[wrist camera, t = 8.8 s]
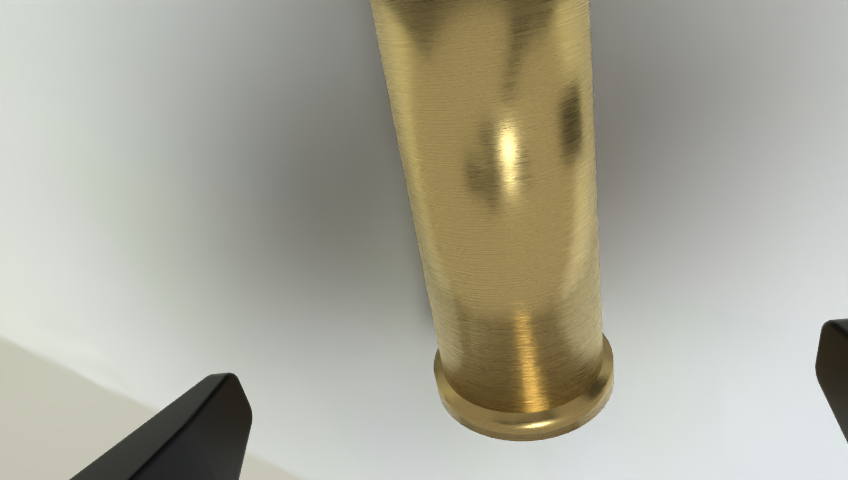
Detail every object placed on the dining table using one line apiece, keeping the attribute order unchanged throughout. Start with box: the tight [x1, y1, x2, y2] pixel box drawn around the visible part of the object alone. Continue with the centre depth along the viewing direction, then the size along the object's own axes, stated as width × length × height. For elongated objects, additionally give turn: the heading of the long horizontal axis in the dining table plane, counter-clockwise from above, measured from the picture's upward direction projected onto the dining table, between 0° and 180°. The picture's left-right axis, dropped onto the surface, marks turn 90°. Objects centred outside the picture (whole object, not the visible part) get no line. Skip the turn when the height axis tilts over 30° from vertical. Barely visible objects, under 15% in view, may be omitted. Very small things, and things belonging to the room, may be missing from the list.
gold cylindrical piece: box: [370, 0, 614, 441], centre depth 16 cm, size 14×6×6 cm, turn 10°
